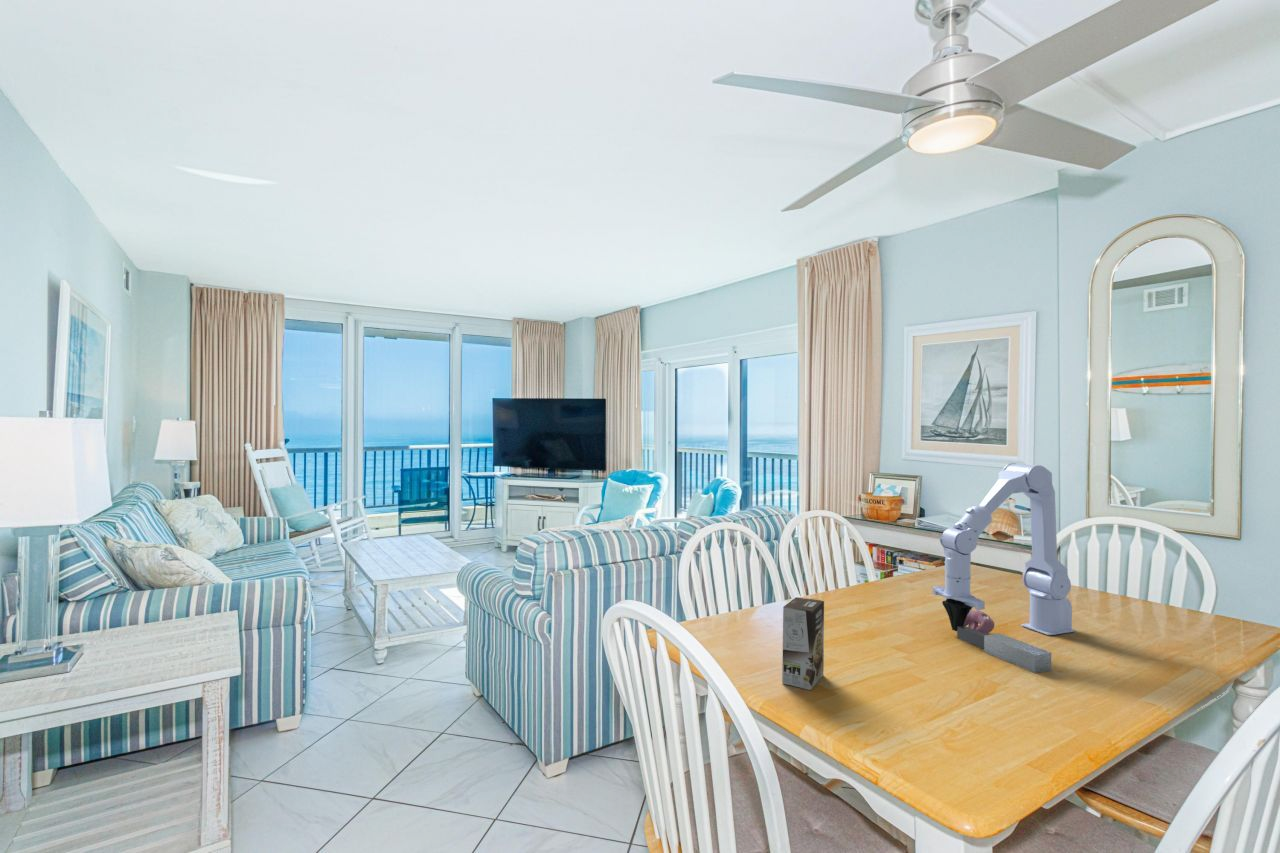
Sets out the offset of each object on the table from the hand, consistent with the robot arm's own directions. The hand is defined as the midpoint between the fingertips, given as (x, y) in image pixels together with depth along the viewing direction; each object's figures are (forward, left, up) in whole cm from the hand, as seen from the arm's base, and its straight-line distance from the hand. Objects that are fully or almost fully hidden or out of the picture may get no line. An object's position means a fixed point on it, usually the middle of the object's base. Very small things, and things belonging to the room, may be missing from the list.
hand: (957, 630), depth 158 cm
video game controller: (-6, 0, -2) cm, 6 cm away
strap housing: (0, +16, -2) cm, 16 cm away
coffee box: (+52, +10, -2) cm, 53 cm away
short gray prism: (0, +7, -2) cm, 7 cm away
